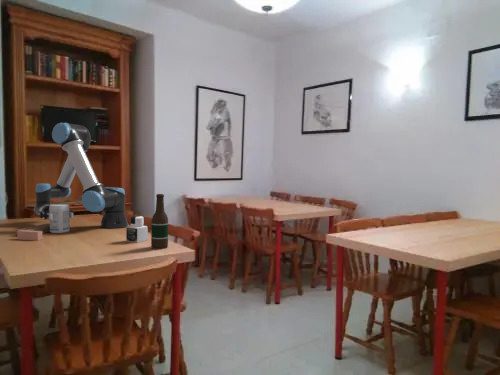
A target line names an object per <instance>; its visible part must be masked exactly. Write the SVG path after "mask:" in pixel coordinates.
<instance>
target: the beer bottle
mask: <svg viewBox="0 0 500 375" xmlns="http://www.w3.org/2000/svg"><path fill="white" fill-rule="evenodd" d="M155 197H156V199H155V200H156V203H155V212H154V213H153V215H152V217H151V223H150V225H151V229H150V230H151V234H150V235H151V237H150V238H151V240H150V241H151V242H150V246H151V247H150V248H152V249H154V250H163V249H167V248H169V247H168V246H169V217H168V215H167V214H166V212H165V201H164V199H165V198H164V197H165V194H163V193H157V194H156V195H155Z"/></svg>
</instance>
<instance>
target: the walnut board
mask: <svg viewBox="0 0 500 375" xmlns="http://www.w3.org/2000/svg"><path fill="white" fill-rule="evenodd" d="M20 230H31V231H42V234H43V233H47V232H50V223H42V224H39V225H34V226H29V227H24V228H18V229H16V232H15V233H16V235H15V236H16V237H17V231H20Z"/></svg>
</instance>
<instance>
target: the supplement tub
mask: <svg viewBox="0 0 500 375" xmlns="http://www.w3.org/2000/svg"><path fill="white" fill-rule="evenodd" d="M69 210H70V204H69V203H54V204H53V203H52V204H51V205H50V208H49V213H50V214H53V219H49V224H50V231H49V232H50V233H52V234H64V233H69V232H70V229H71V222H70V221H71V220H70V218H71V217H70V215H69Z"/></svg>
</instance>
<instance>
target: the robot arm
mask: <svg viewBox="0 0 500 375" xmlns="http://www.w3.org/2000/svg"><path fill="white" fill-rule="evenodd" d="M51 137H52V140H53V141H54V142H55V143H56V144H60V148H61V149H62V150H63V151H65V152H66V153H67V155H68V156H67V157H66V161H65V163H64V165H63V167H62V170H61V172H60V174H59V177H58V179H57V181H56V184H55V185H51V184H50V183H47V182H45V183H44V182H43V183H42V182H41V183H36V184H35V205H34V208H33V212H34V214H35V215H37V216H38V217H39V218H40V219H43V218H44V219H43V220H50V219H53V214H50V213H49V208H50V205H52V204H51V200H52V199H53V200H54V199H64V198H68V197H70V196H71V194H72V188H71V184H72V183H73V181H74V178H75V175H77V177H78V179H79V181H80V183H81V185H82V189H83V190H82V191H81V192H82V196H81V204H82V206H83V208H84V209H86V210H87V211H89V212H91V213H99V212H103V216H102V218H101V221H100V228H103V229H120V228H121V229H122V228H126V227H128V226H129V223H128V222H129V221H128V219H127V216H126V193H125V189H124V188H122V187H114V186H113V187H112V186H111V187H110V186H105V185H104V184H103V183H101V182H99V179H98V177H97V175H96V173H95V170H94V169H93V166H92V164H91V162H90V160H89V158H88V156H87V153H86V152H88V150H89V148H90V146H91V142H92V137H91V133H90V131H89V129H88V128H87V127H86V126H84V125H82V124H73V123H68V122H59V123H57V124H55V126H54V127H53V128H52V131H51ZM74 213H75V211H74V210H71V209H69V215H70V218H72V219H73V218H74V215H75V214H74Z"/></svg>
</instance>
